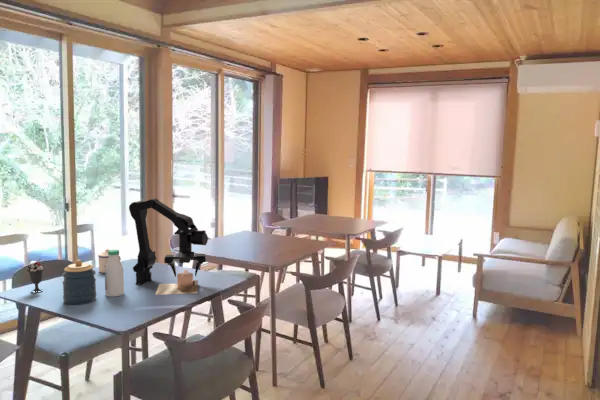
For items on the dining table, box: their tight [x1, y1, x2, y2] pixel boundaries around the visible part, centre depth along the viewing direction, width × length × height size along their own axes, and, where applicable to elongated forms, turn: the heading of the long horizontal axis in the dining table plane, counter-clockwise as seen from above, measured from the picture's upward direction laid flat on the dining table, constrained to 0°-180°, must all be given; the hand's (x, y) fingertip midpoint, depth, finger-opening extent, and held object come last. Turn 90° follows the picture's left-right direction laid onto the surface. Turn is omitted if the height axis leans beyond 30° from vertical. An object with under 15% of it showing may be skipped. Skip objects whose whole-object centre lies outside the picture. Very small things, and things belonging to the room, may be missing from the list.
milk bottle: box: [104, 249, 125, 298], centre depth 212 cm, size 8×8×20 cm
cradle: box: [155, 279, 199, 296], centre depth 220 cm, size 18×16×3 cm
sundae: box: [26, 259, 45, 292], centre depth 215 cm, size 7×7×15 cm
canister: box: [62, 259, 97, 305], centre depth 204 cm, size 13×13×18 cm
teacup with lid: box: [97, 248, 122, 274], centre depth 252 cm, size 12×9×12 cm
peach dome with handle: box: [176, 269, 194, 290], centre depth 222 cm, size 11×7×6 cm, turn 11°
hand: (185, 276), depth 226 cm, fingers open, 9 cm apart
